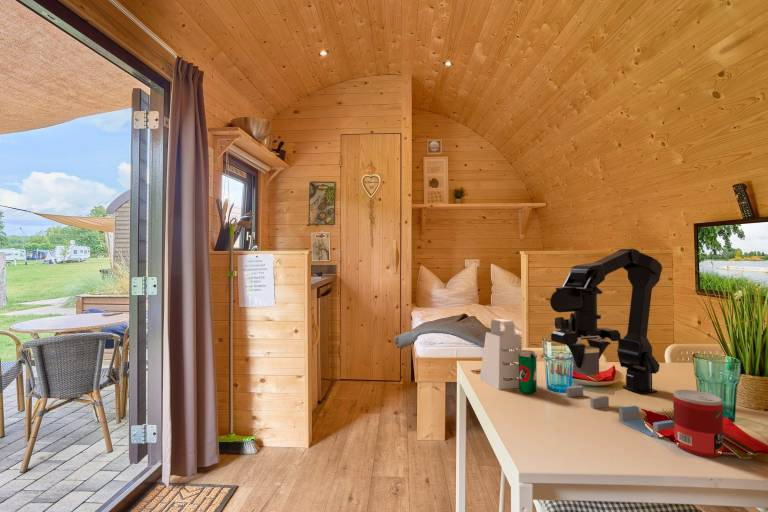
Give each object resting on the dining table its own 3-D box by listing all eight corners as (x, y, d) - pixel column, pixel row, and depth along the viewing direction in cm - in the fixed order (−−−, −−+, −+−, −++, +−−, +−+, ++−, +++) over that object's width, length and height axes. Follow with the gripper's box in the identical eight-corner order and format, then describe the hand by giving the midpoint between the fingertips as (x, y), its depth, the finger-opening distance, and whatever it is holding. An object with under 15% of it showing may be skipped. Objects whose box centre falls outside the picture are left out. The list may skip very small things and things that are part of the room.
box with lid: (586, 369, 112) (586, 345, 112) (599, 374, 108) (599, 348, 108) (573, 371, 111) (572, 346, 111) (585, 375, 106) (585, 349, 106)
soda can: (538, 395, 114) (537, 353, 114) (520, 394, 115) (519, 353, 115) (535, 389, 119) (534, 350, 119) (517, 388, 120) (517, 349, 120)
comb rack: (582, 394, 115) (581, 383, 115) (676, 435, 88) (676, 421, 88) (564, 396, 113) (564, 385, 113) (655, 438, 86) (655, 424, 86)
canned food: (727, 462, 76) (726, 404, 76) (675, 451, 80) (675, 397, 80) (719, 446, 83) (718, 393, 83) (672, 437, 87) (671, 387, 87)
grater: (506, 376, 132) (506, 317, 133) (527, 386, 123) (526, 321, 123) (479, 379, 129) (479, 318, 129) (498, 389, 119) (498, 323, 119)
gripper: (590, 306, 120) (591, 357, 119) (537, 308, 115) (538, 362, 114) (621, 310, 109) (622, 367, 109) (565, 313, 104) (565, 372, 104)
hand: (586, 366), depth 109 cm, fingers closed on box with lid, 4 cm apart
